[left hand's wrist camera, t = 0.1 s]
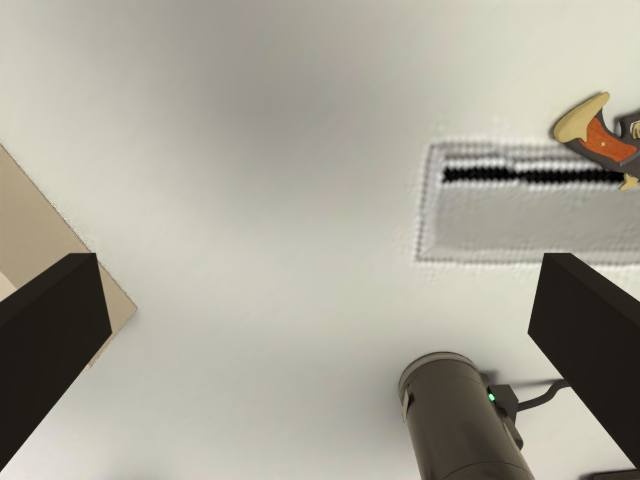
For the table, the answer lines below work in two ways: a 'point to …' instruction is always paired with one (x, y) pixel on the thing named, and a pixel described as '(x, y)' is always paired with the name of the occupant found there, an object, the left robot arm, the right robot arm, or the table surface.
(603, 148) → the toy gun
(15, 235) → the box
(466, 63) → the table surface
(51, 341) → the left robot arm
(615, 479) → the toy
